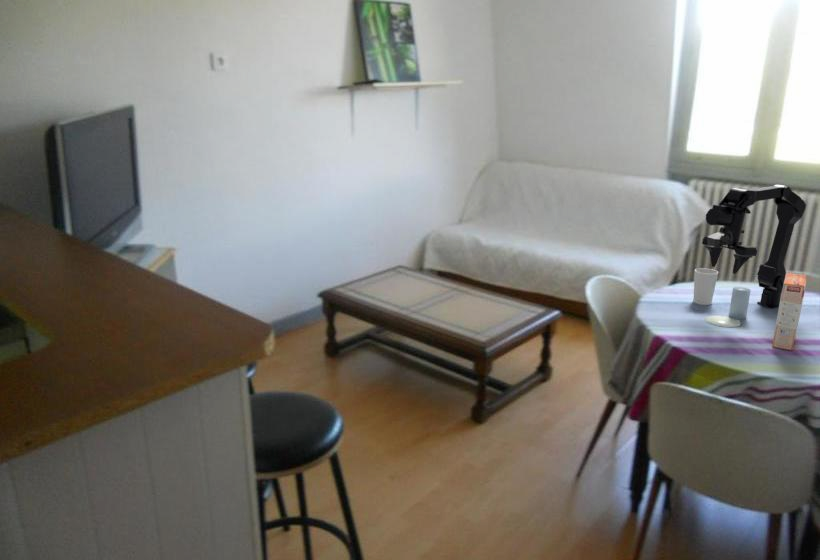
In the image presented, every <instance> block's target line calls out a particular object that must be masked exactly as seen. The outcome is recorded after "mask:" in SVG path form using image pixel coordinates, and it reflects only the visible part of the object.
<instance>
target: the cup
mask: <svg viewBox="0 0 820 560" xmlns="http://www.w3.org/2000/svg"><path fill="white" fill-rule="evenodd" d="M718 276H719V271H718V270H716V269H712V268H704V267H701V268H695V269H694V280H693V281H694V282H693V300H692V302H693V303H695V304H696V305H701V306H708V305H712V304H713V303H712V302H713V297H714V293H715V289H716V285H717V280H718Z"/></svg>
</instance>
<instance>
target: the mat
mask: <svg viewBox="0 0 820 560" xmlns="http://www.w3.org/2000/svg"><path fill="white" fill-rule="evenodd" d="M704 320H705V322H706V323H708V324H710V325H713V326H717V327H723V328H736V327H740V326H741V322H740V321H739V319H735V318H731V317H729V316H724V315H708V316H706V317H705V319H704Z"/></svg>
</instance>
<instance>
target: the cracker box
mask: <svg viewBox="0 0 820 560" xmlns="http://www.w3.org/2000/svg"><path fill="white" fill-rule="evenodd" d="M806 285H807V275H805V274H799V273H790V272H786V275H785V280H784V284H783V289H782V294H781V299H780V304H779V307H778V310H777V317H776V322H775V328H774V333H773V338H772V339H773V340H772V348H777V349H781V350H785V351H791V352H792V351H793V349H794V344H795V341H796V336H797V331H798V328H799V323H800V322H799V321H800V317H801V312H802V307H803V302H804V297H805V293H806V292H805V291H806Z"/></svg>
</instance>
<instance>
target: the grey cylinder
mask: <svg viewBox="0 0 820 560" xmlns="http://www.w3.org/2000/svg"><path fill="white" fill-rule="evenodd" d="M731 290H732V291H731V299H730V303H729V304H730V305H729V310H728V311H729V312H728V317H729V316H730V318H731V317H732V318H733V319H736V320H746V319H747V315H748V310H749V309H748V308H749V303H750V302H749V301H750V297H751V289H750V288H747V287H743V286H733V287H732V289H731Z"/></svg>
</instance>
